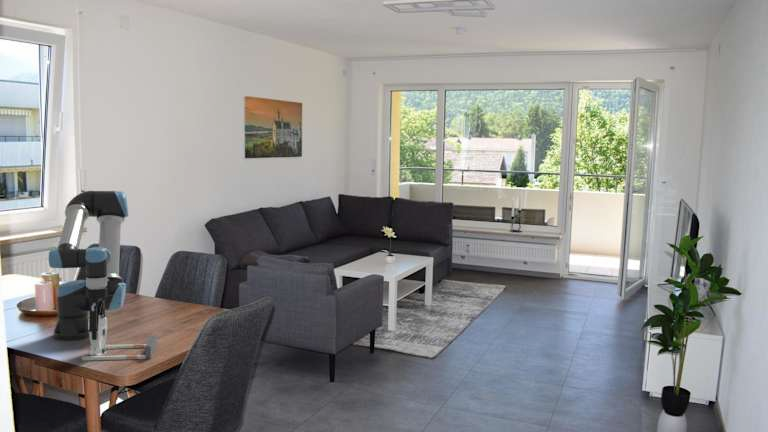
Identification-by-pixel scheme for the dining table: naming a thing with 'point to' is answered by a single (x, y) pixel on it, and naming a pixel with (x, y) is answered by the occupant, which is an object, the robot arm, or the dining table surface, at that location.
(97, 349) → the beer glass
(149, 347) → the guide track
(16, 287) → the dining table surface
